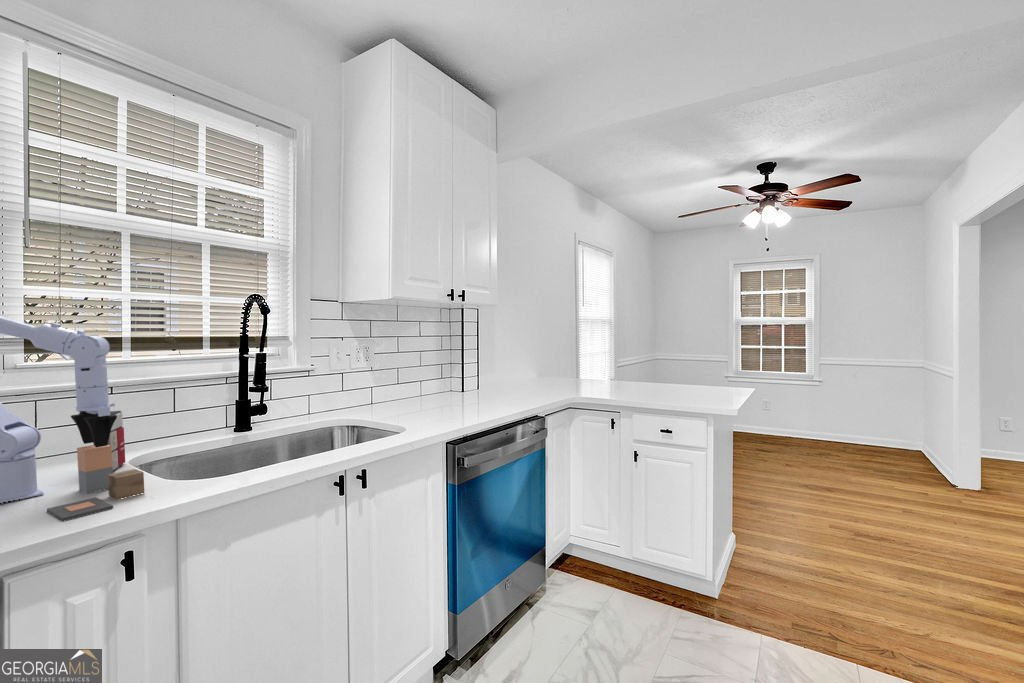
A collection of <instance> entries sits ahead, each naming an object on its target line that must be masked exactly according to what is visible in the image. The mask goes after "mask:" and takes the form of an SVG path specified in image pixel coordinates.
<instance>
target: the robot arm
mask: <svg viewBox="0 0 1024 683" xmlns="http://www.w3.org/2000/svg"><path fill="white" fill-rule="evenodd" d="M85 333H86V331H85V330H79V329H78V330H77V331H76V330H72V329H69V328H64V327H62V325H61V323H57V322H51V324H49V323H44V324H41V325H39V326H35V325H32V324H28V323H26V322H22V321H18V320H14V319H12V318H9V317H5V316H1V315H0V334H2V335H7V336H11V337H14V338H20V339H24V340H29V341H30V342H31V343H32V345H33V347H34V348H37V349H42V350H44V351H45V350H46V351H49V352H52V353H53V352H54V353H57V354H61V355H65V356H70V357H71V358H72V359H73V360H74V378H75V396H76V407H75V411H76V412H78V414H72V415H70V418H71V419H72V421H73V422H74V423H75V425H76V427H77V428H78V432H79V434H80V437H81V441H82V443H83V445H86V444H87V445H88V444H93V442H94V445H95V447H102V446H107V445H108V441H109V436H110V432H111V428H112V426H113V423H114V422H115V420H116V418H117V415H110V411H111V408H112V407H116V403H115V402H109V384H108V383H109V382H108V367H107V356H108V353H109V352H110V350H111V348H110V347H111V346H110V343H109V341H108V340H107V339H106V338H104V337H103V336H100V335H99V334H89V335H86V334H85ZM108 415H109V416H108ZM41 440H42V434H41V432H40V431H39V429H38V428H37V427H35V426H33V425H31V424H29V423H27V422H26V421H25V419H23V417H20V416H19V415H16V414H13V413H12V412H9V409H7V408H6V407H5V405H4V404H3V403H2V402H1V401H0V503H1V504H4V503H3V502H6V503H9V502H8V501H11V502H14V501H13V500H15V501H20V500H24V499H28V498H34V497H37V496H42V495H44V494H45V493H44V491H42V490H40V489H39V488H38V480H37V479H38V476H37V459H36V458H37V456H36V450H35V449H36V447H38V446H39V445H40V443H41ZM19 499H20V500H19Z"/></svg>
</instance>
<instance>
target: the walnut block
mask: <svg viewBox="0 0 1024 683" xmlns="http://www.w3.org/2000/svg"><path fill="white" fill-rule="evenodd" d="M144 475H145V474H144V471H142V470H138V469H136V468H133V469H128V470H124V471H123V470H122V471H119V472H113V474H108V485H109V489H108V496H110V498H111V497H112V498H111V499H114V498H115V499H114V500H116V499H117V500H116V501H119V500H118V499H121V498H125V497H129V496H133V495H137V494H141V493H144V494H145V478H144ZM141 495H142V494H141ZM137 496H138V495H137ZM133 497H134V496H133ZM129 498H130V497H129ZM125 499H126V498H125ZM121 500H122V499H121Z"/></svg>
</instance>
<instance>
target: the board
mask: <svg viewBox="0 0 1024 683" xmlns="http://www.w3.org/2000/svg"><path fill="white" fill-rule="evenodd" d="M112 508H113V509H114V505H113V504H111V503H109V502H106V501H104V500H103V499H100V498H98V497H97V496H95V497H91V498H87V499H82V500H78V501H74V502H70V503H65V504H61V505H57V506H52V507H48V508H46V512H47V513H48V512H49V513H48V514H50V515H51V514H52V515H51V516H53V515H54V516H53V517H55V518H56V517H57V520H59V521H61V520H62V521H61V522H65V521H64V520H66V521H69V520H68V519H70V520H73V519H72V518H74V519H77V518H76V517H78V518H80V517H79V516H81V517H84V516H83V515H85V516H88V515H87V514H89V515H92V514H91V513H93V514H96V513H95V512H97V513H100V512H99V511H101V512H103V510H105V511H108V510H107V509H109V510H112Z"/></svg>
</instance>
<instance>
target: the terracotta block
mask: <svg viewBox="0 0 1024 683" xmlns="http://www.w3.org/2000/svg"><path fill="white" fill-rule="evenodd" d="M76 454H77V456H76V457H77V458H76V459H77V470H78V469H79V470H81V471H84V472H89V471H94V470H99V469H104V468H109V467H112V449H111V446H110V445H107V446H102V447H95V445H93V444H92V445H87V446H79V447H76Z"/></svg>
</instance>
